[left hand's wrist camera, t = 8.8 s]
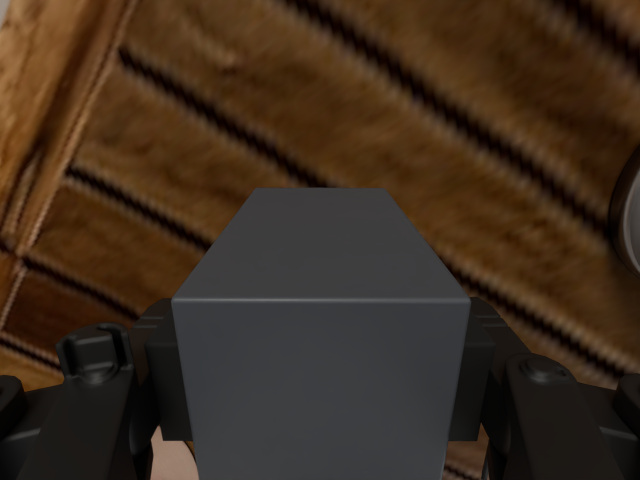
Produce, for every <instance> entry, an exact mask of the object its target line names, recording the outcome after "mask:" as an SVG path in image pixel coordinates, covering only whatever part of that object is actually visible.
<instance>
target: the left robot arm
mask: <svg viewBox="0 0 640 480" xmlns="http://www.w3.org/2000/svg"><path fill="white" fill-rule="evenodd" d="M610 230H611V236H612V240H613V244H614V247H615V249H616V251H617V254H618V256H619V257H620V259H621V260H622V262H623V263H624V264H625V266H626V267H627V268H628V269H629V270H630V271H631V272H632V273H633V274H635V275H636V276H638V277H639V278H640V145H639V146H638V147H637V149H636V150H635V152H634V153H633V155H632V156H631V158H630V159H629V161H628V163H627V164H626V166H625V168H624V170H623V172H622V174H621V176H620V178H619V181H618V183H617V186H616V189H615V192H614V196H613V200H612V205H611V213H610ZM171 300H172V298H163V299H161V300H159V301H158V302H156V303H155V304H153V305H151V306H150V307H148V308H147V310H146V311H145V312H144V313H143V314H142V316H141V317H140V319H138V320H137V321H136V323H135V324H134V325H133V328H131V329H130V330H129V331H128V330H127V327H125V326H124V325H123V324H121V323H115V322H100V323H96V324H91V325H87V326H84V327H82V328H79V329H77V330H74V331H72V332H71V333H69V334H67V335H66V336H64V337H63V338H61V339H60V341H59V342H58V343H57V344H56V345H55V348H56V351H57V355H58V358H59V361H60V365H61V368H62V371H63V375H64V378H65V380H64V382H63V384H60V385H56V386H51V387H46V388H42V389H37V390H32V391H27V392H24V389H23V386H22V383H21V381H20V380H19V379H18V378H16V377H15V376H8V375H1V376H0V480H151V472H152V465H153V457H154V454H153V447H152V442H151V439H152V437H153V435H154V433H155V431H156V429H157V427H158V425H159V424H160V429H161V434H162V439H163V441H193V439H192V432H191V426H190V419H189V413H188V407H187V400H186V394H185V388H184V381H183V375H182V368H181V362H180V356H179V349H178V343H177V337H176V330H175V324H174V318H173V311H172V305H171ZM470 300H471V307H470V313H469V319H468V325H467V331H466V337H465V343H464V349H463V355H462V361H461V367H460V373H459V379H458V385H457V391H456V397H455V403H454V409H453V415H452V421H451V427H450V433H449V439H448V441H477V439H478V434H479V429H480V424H481V423H482V425H483V427H484V429H485V431H486V433H487V435H488V437H489V442H488V447H487V452H486V456H485V461H484V466H483V470H482V477H481V479H482V480H487V476H488V472H489V479H490V480H640V374H638V373H635V374H626V375H625V376H623V377H622V378H621V379H620V380H619V383H618V386H617V389H616V390H611V389H606V388H602V387H597V386H592V385H587V384H583V383H579V382H577V381H576V379H575V377H574V376H573V375H572V374H571V372H570V371H569V370H568V369H567V368H565V367H564V366H562V365H561V364H560V363H558V362H556V361H554V360H552V359H550V358H548V357H545V356H541V355H538V354H534V353H531V352H530V350H529V349H528V348H527V347H526V346H525V345H524V343H523V342H522V341H521V340H520V339H519V338H518V336H517V335H516V334H515V333H514V332H513V330H512V329H511V328H510V327H508V325H507V323H506V322H505V321H504V320H503V319H502V318H500V315H499V314H498V313H497V312H496V310H495V309H494V308H493V307H492V306H491V305H489V304H488V303H486V302H484V301H483V300H481V299H480V298H478V297H470Z"/></svg>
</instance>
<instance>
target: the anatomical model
mask: <svg viewBox="0 0 640 480" xmlns="http://www.w3.org/2000/svg"><path fill="white" fill-rule="evenodd" d="M151 442H152V447H153V454H154V457H153V465H152V472H151V480H199V477H198V470H197V466H196V463H195V461H194V458H193V456H192V454H191V452H190V450H189V449H188V447H187V445H186V444H185V443H184V442H183V441H163V439H162V434H161V429H160V426H158V427H157V429H156V431H155V433H154V435H153V437H152V439H151Z"/></svg>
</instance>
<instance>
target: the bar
mask: <svg viewBox="0 0 640 480" xmlns="http://www.w3.org/2000/svg"><path fill="white" fill-rule="evenodd" d="M171 305H172V311H173V318H174V324H175V330H176V337H177V343H178V349H179V356H180V362H181V368H182V375H183V381H184V388H185V394H186V400H187V407H188V413H189V419H190V426H191V432H192V439H193V445H194V451H195V458H196V464H197V470H198V477H199V480H442V475H443V469H444V463H445V457H446V451H447V445H448V439H449V433H450V427H451V421H452V415H453V409H454V403H455V397H456V391H457V385H458V379H459V373H460V367H461V361H462V355H463V349H464V343H465V337H466V331H467V325H468V319H469V313H470V307H471V300H470V297H469V296H468V295H467V294H466V292H465V291H464V290H463V288H462V287H461V286H460V285H459V283H458V282H457V281H456V279H455V278H454V277H453V276H452V274H451V273H450V272H449V270H448V269H447V268H446V267H445V265H444V264H443V263H442V261H441V260H440V259H439V258H438V256H437V255H436V254H435V252H434V251H433V250H432V248H431V247H430V246H429V245H428V243H427V242H426V241H425V239H424V238H423V237H422V236H421V234H420V233H419V232H418V230H417V229H416V228H415V227H414V225H413V224H412V223H411V221H410V220H409V219H408V218H407V216H406V215H405V214H404V212H403V211H402V210H401V209H400V207H399V206H398V205H397V203H396V202H395V201H394V200H393V198H392V197H391V196H390V194H389V193H388V192H387V191H386V189H384V188H255V190H254V191H253V192H252V194H251V195H250V196H249V198H248V199H247V200H246V201H245V203H244V204H243V205H242V207H241V208H240V209H239V211H238V212H237V213H236V215H235V216H234V217H233V219H232V220H231V221H230V222H229V224H228V225H227V226H226V228H225V229H224V230H223V232H222V233H221V234H220V236H219V237H218V238H217V239H216V241H215V242H214V243H213V245H212V246H211V247H210V249H209V250H208V251H207V253H206V254H205V255H204V256H203V258H202V259H201V260H200V262H199V263H198V264H197V266H196V267H195V268H194V270H193V271H192V272H191V274H190V275H189V276H188V277H187V279H186V280H185V281H184V283H183V284H182V285H181V287H180V288H179V289H178V291H177V292H176V293H175V294H174V296H173V297H172V300H171Z"/></svg>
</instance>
